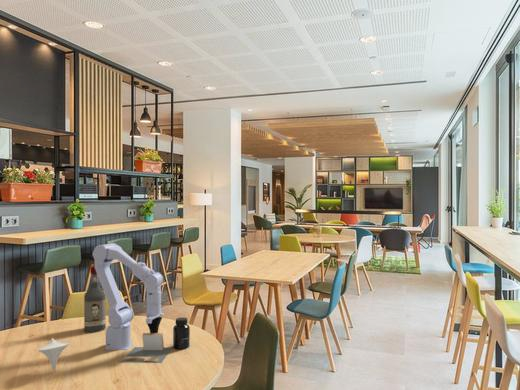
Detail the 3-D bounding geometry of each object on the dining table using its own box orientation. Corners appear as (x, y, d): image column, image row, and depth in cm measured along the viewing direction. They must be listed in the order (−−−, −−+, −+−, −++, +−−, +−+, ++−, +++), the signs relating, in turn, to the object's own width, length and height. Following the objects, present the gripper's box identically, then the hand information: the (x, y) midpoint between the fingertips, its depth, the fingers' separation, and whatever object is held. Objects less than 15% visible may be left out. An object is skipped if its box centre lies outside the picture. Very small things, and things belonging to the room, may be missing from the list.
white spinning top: (33, 372, 147) (33, 338, 147) (64, 363, 155) (64, 331, 155) (42, 381, 140) (42, 346, 140) (74, 371, 147) (74, 338, 147)
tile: (143, 350, 166) (142, 334, 165) (144, 348, 168) (143, 333, 166) (162, 350, 166) (161, 335, 164) (163, 348, 167) (162, 333, 166)
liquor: (84, 327, 198) (84, 266, 198) (104, 325, 201) (104, 264, 202) (84, 333, 189) (84, 268, 190) (105, 330, 193) (105, 267, 193)
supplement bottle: (186, 351, 166) (185, 321, 166) (170, 350, 168) (170, 320, 168) (192, 345, 173) (192, 316, 173) (177, 344, 174) (176, 316, 174)
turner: (120, 361, 155) (120, 359, 155) (124, 358, 158) (124, 355, 158) (156, 362, 154) (156, 359, 154) (159, 358, 158) (159, 355, 158)
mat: (119, 363, 154) (119, 362, 154) (134, 348, 170) (134, 347, 170) (161, 363, 153) (161, 362, 153) (172, 348, 169) (172, 347, 169)
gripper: (158, 307, 160) (158, 342, 160) (168, 298, 175) (168, 330, 174) (140, 307, 160) (140, 342, 160) (151, 298, 175) (152, 330, 175)
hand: (154, 336), depth 167 cm, fingers closed
